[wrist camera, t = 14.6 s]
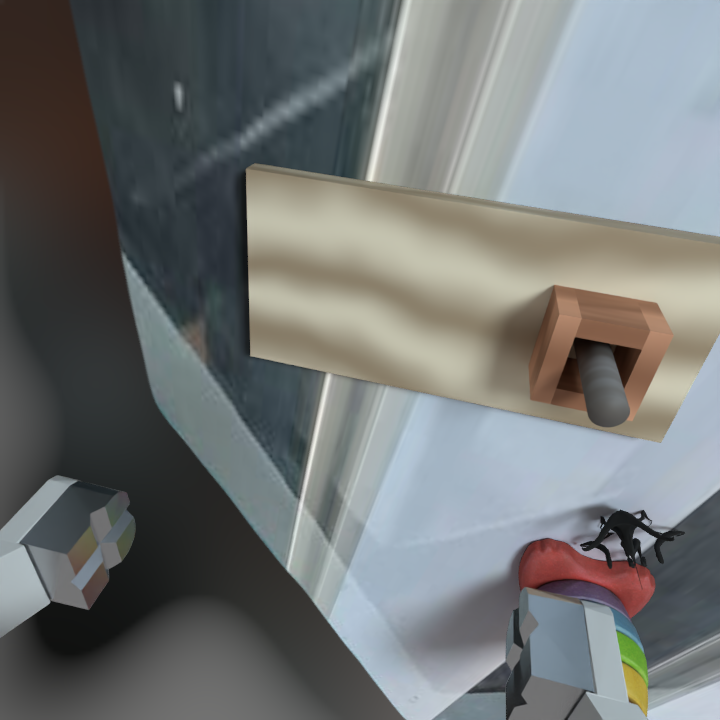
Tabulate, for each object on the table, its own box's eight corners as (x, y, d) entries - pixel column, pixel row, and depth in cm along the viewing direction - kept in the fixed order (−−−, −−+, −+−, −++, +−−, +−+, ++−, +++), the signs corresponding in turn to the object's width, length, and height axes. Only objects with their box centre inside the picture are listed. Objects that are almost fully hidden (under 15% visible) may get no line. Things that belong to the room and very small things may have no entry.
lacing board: (255, 163, 35) (181, 205, 27) (753, 242, 31) (836, 318, 23) (257, 346, 43) (201, 420, 35) (656, 429, 38) (693, 534, 31)
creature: (685, 537, 44) (671, 484, 40) (707, 603, 41) (694, 553, 36) (586, 549, 48) (562, 501, 43) (597, 611, 44) (572, 566, 39)
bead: (554, 284, 33) (559, 314, 30) (657, 302, 32) (673, 335, 29) (528, 365, 36) (530, 400, 33) (620, 383, 35) (632, 421, 32)
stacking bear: (662, 568, 45) (736, 833, 31) (611, 632, 51) (653, 881, 36) (534, 531, 46) (546, 769, 32) (498, 598, 52) (494, 826, 37)
